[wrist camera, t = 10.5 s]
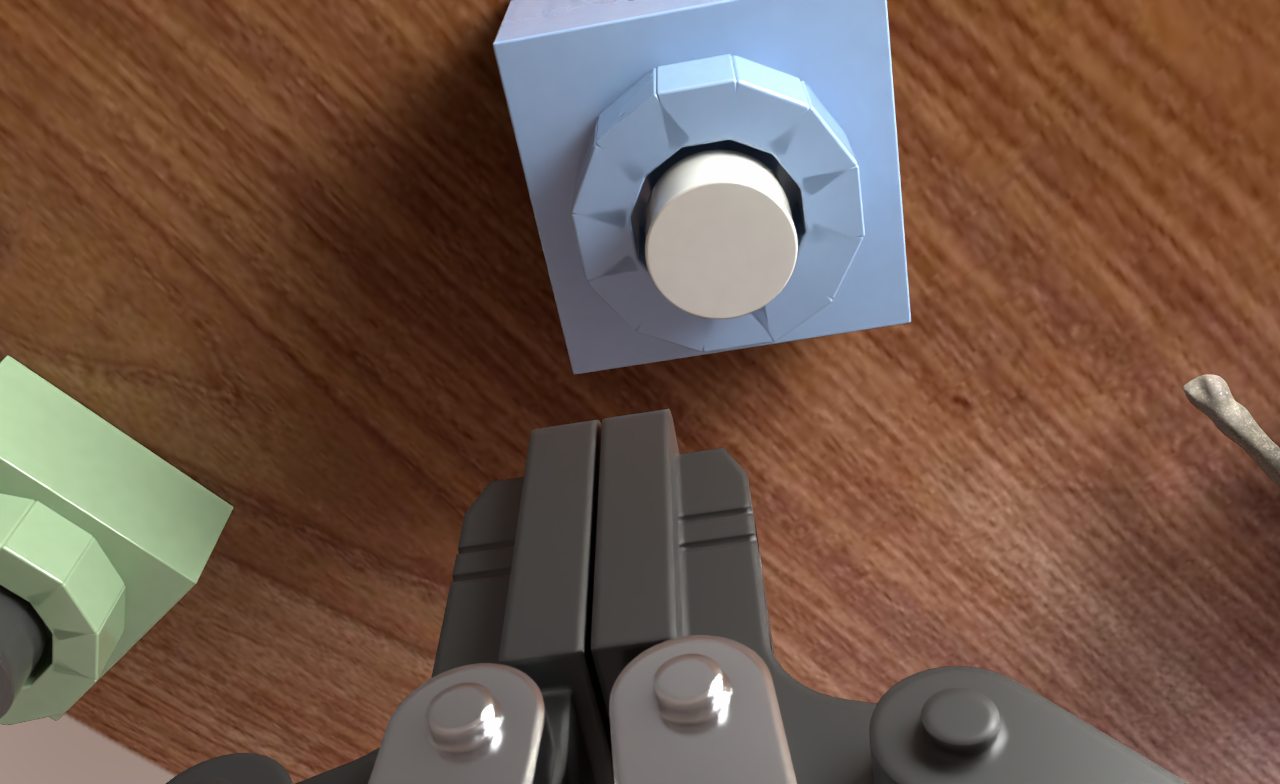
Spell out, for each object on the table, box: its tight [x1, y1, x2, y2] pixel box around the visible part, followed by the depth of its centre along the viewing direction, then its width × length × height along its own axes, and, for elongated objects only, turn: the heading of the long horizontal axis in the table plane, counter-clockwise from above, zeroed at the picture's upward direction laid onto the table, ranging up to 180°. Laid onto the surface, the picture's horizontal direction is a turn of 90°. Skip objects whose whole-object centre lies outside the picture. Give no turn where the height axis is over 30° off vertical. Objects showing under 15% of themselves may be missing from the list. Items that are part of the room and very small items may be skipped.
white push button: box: [645, 149, 798, 319], centre depth 24 cm, size 3×3×2 cm
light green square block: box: [0, 355, 234, 725], centre depth 34 cm, size 8×8×6 cm
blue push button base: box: [493, 0, 911, 374], centre depth 27 cm, size 8×8×6 cm
